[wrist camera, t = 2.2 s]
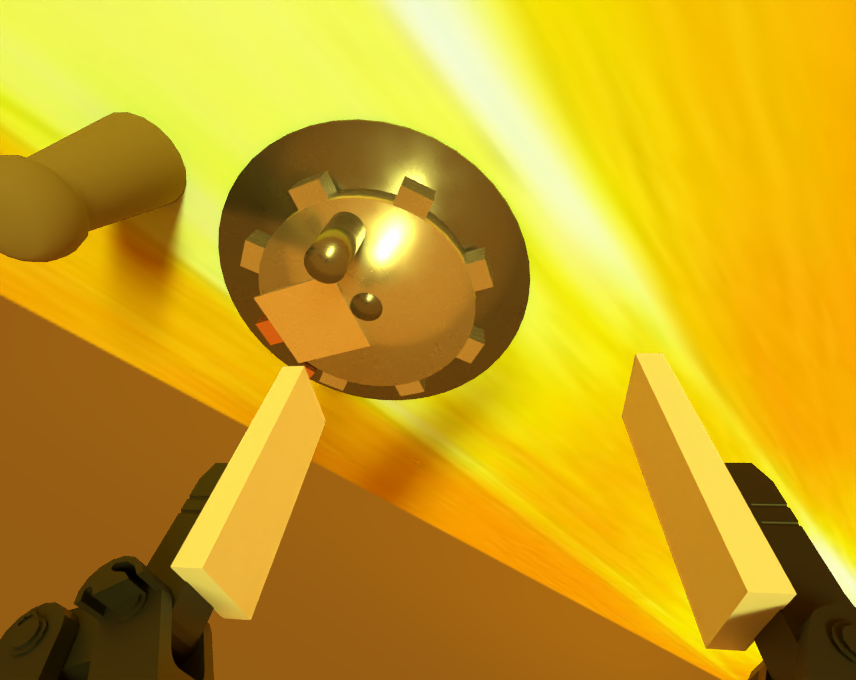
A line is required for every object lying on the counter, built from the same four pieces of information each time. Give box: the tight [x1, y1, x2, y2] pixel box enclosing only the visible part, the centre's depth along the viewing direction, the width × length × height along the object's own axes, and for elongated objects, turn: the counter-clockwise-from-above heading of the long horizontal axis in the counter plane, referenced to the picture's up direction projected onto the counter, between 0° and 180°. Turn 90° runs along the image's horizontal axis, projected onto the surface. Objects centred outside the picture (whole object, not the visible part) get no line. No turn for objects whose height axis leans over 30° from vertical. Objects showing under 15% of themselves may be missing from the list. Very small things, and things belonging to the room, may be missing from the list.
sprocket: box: [240, 171, 494, 396], centre depth 30 cm, size 19×19×7 cm
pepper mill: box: [0, 112, 186, 262], centre depth 24 cm, size 6×6×11 cm
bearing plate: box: [219, 119, 530, 400], centre depth 33 cm, size 24×24×1 cm
